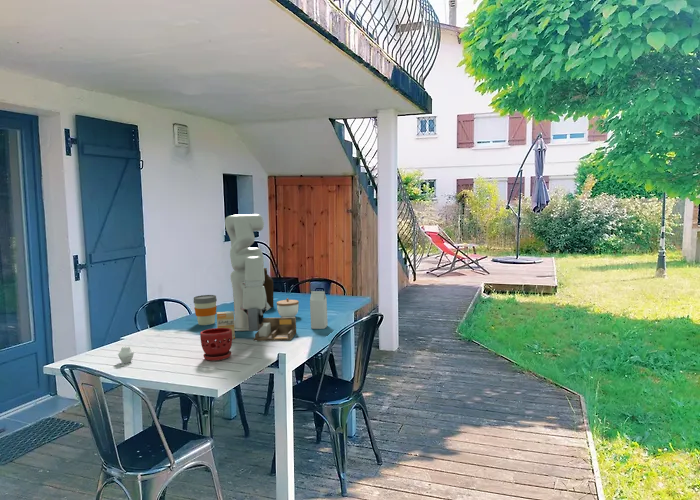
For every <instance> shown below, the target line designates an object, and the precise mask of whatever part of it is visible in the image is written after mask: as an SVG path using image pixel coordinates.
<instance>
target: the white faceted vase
mask: <svg viewBox="0 0 700 500" xmlns="http://www.w3.org/2000/svg"><path fill="white" fill-rule="evenodd" d="M117 355H118V358H119V359H120V362H121V363H122V364H128V363H129V364H130V363H131V362H132V359H133V357H134V355H135V353H134V351H133V350H132V349H131V347H130V346H127V345H124V346H122V347H121V349H120V351H119V352H118V353H117Z"/></svg>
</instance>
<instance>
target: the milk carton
mask: <svg viewBox="0 0 700 500" xmlns="http://www.w3.org/2000/svg"><path fill="white" fill-rule="evenodd" d="M310 293H311V294H310V299H309V307H310V308H309V309H310V310H309V311H310V328H311V329H313V330H325V329H326V328H327V327H328V326H329V325H328V303H327V302H328V301H327V300H328V299H327V295H326V292H325V290H324V291H323V290H322V291H321V290H320V291H314V290H313V291H312V290H311V291H310Z"/></svg>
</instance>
